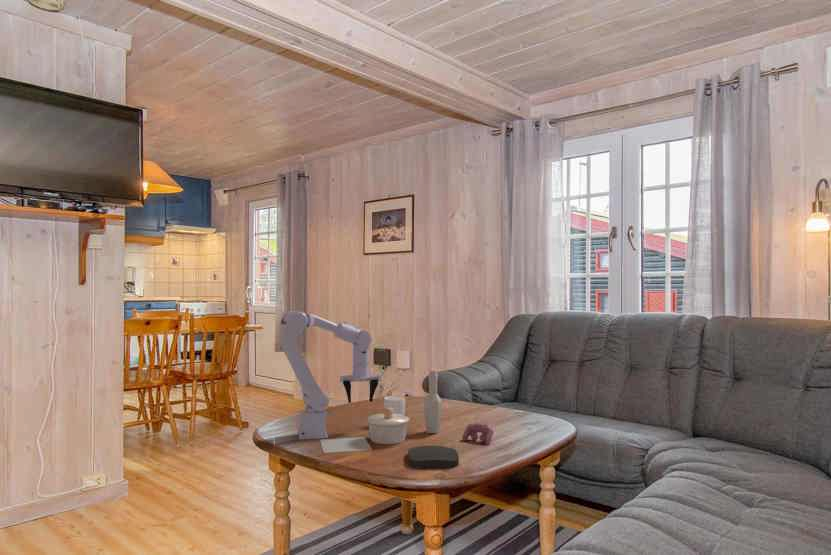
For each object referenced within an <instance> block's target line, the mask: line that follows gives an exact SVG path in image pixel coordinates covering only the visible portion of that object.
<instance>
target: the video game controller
mask: <svg viewBox="0 0 831 555" xmlns="http://www.w3.org/2000/svg"><path fill="white" fill-rule="evenodd" d="M478 433H479V434H480V435H478ZM493 435H494V429H493V428H492V427H491V426H489V425H487V424H485V423H479V422H475V423H469V424H468V425H466V427H465V429H464V431H463V434H462V437H461V438H462V439H461V440H462V441H463V442H466V441H467V440H468V439H469V437H470V438H471V440H472V441H477V440H478V439H479V440H480V441H481V442H484V443H485V445H487V446H488V445H489V444H490V443H491V440H492V437H493Z"/></svg>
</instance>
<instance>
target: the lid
mask: <svg viewBox="0 0 831 555" xmlns="http://www.w3.org/2000/svg"><path fill="white" fill-rule="evenodd" d="M366 419H367V423H368V422H369V423H371V424H375V425H382V426H394V425H402V424H406V423H409V422H410V417H409V416H407V415H406V414H404V415H402V414H393V408H385V407H384V409H383V413H375V414H372V415H369V416H368V417H367V418H366Z"/></svg>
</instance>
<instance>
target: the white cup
mask: <svg viewBox="0 0 831 555" xmlns="http://www.w3.org/2000/svg"><path fill="white" fill-rule="evenodd" d="M383 399H384V408H393V414H402V415H405V413H406V397H405V396H401V395H400V396H399V395H390V396H385V397H384V398H383Z"/></svg>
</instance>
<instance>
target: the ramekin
mask: <svg viewBox="0 0 831 555" xmlns="http://www.w3.org/2000/svg"><path fill="white" fill-rule="evenodd" d="M408 423H409V422H408ZM408 423H406V424H402V425H394V426H382V425H375V424H371V423H369V422H368V421H367V424H368V425H367V426H368V429H369V430H368V431H369V437H370V440H371V441H372V442H373V443H375V444H377V445H378V444H379V445H396V444H401V443H402V442H404V441H405V439H406V435H407V429H408V428H407V427H408Z"/></svg>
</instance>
